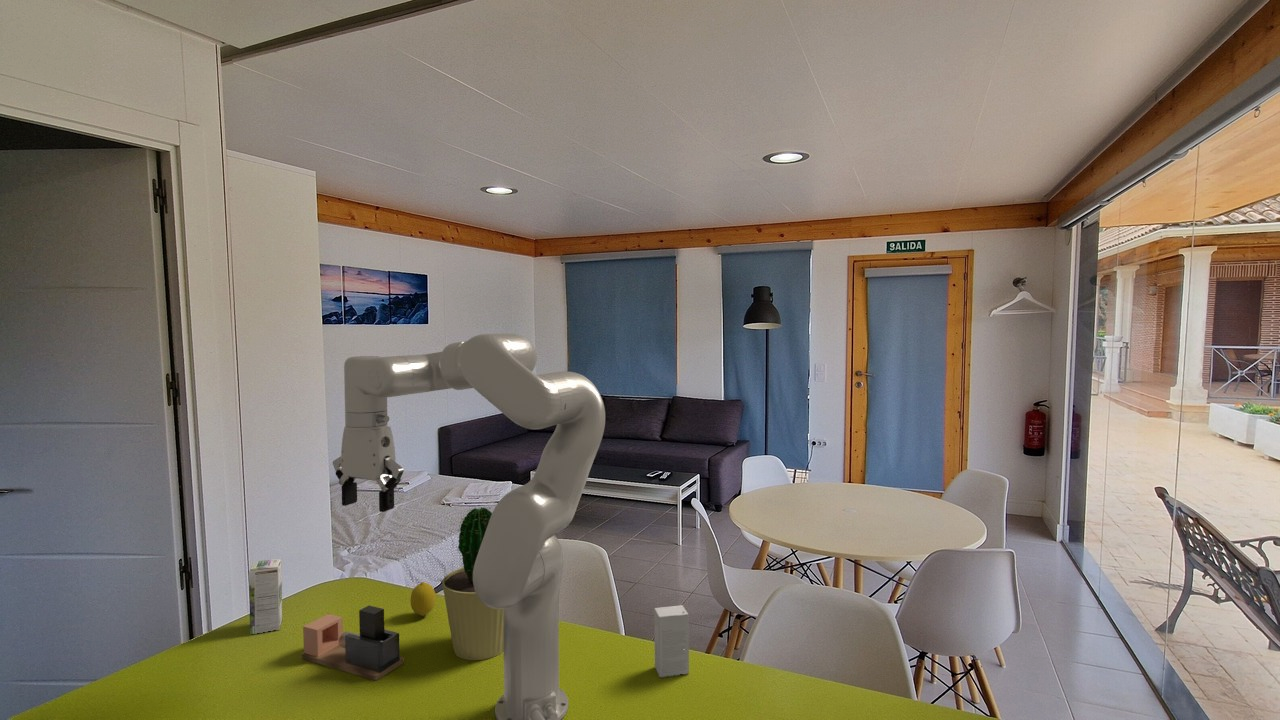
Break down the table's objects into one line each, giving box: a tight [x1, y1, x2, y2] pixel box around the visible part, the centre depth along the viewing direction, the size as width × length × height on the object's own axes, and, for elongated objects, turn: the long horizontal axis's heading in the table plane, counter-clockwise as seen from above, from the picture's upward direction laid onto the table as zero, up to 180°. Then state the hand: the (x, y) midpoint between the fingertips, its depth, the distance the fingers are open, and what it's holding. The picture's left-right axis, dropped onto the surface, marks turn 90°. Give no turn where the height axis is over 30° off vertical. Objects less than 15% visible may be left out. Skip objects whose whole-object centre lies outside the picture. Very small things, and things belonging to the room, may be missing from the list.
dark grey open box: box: [345, 628, 401, 673], centre depth 123 cm, size 9×5×6 cm, turn 67°
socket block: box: [302, 613, 344, 657], centre depth 129 cm, size 4×6×6 cm, turn 157°
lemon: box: [409, 581, 437, 617], centre depth 145 cm, size 6×6×8 cm
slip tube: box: [338, 605, 385, 648], centre depth 124 cm, size 11×3×9 cm, turn 67°
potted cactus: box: [441, 503, 504, 661], centre depth 130 cm, size 15×15×30 cm
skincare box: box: [653, 604, 690, 678], centre depth 122 cm, size 6×4×12 cm
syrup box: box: [248, 558, 283, 636], centre depth 139 cm, size 6×6×14 cm
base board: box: [301, 645, 404, 681], centre depth 126 cm, size 20×7×1 cm, turn 67°
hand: (367, 506), depth 122 cm, fingers open, 9 cm apart
